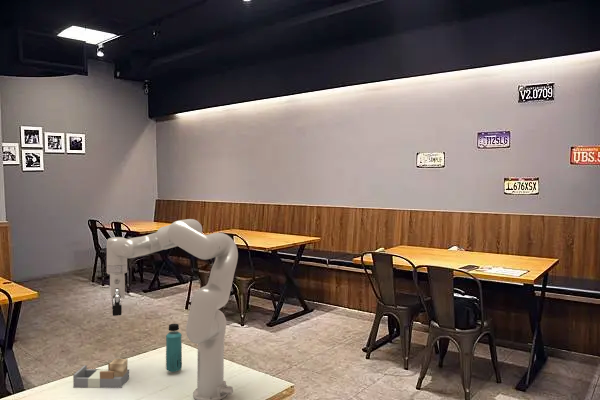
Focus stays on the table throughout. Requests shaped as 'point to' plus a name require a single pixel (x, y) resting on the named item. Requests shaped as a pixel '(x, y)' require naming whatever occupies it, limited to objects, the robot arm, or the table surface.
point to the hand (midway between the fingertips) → (116, 312)
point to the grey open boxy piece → (98, 378)
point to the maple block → (119, 367)
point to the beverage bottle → (173, 349)
